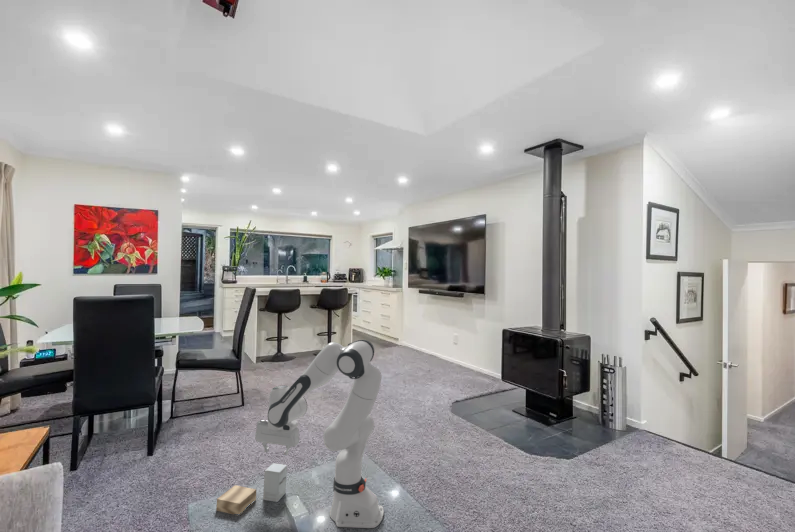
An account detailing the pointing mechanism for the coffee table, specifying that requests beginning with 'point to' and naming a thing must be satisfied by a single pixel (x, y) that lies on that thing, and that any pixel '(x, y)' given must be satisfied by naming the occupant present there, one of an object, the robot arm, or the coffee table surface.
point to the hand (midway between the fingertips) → (276, 453)
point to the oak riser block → (236, 500)
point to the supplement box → (275, 482)
